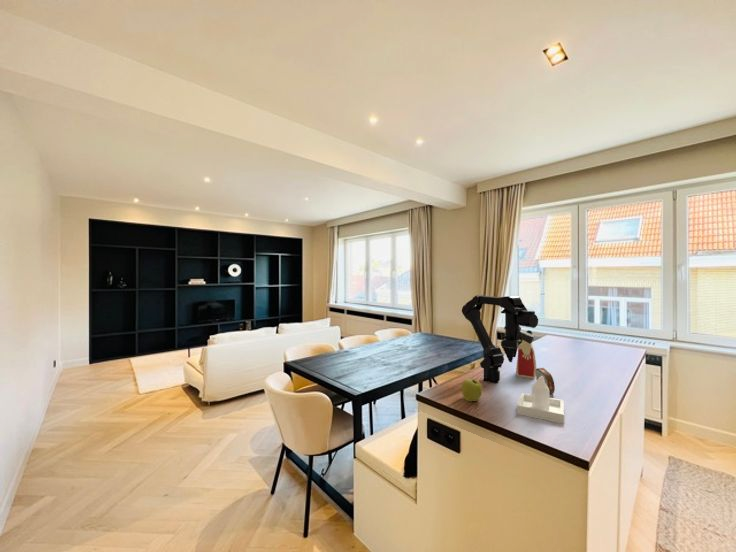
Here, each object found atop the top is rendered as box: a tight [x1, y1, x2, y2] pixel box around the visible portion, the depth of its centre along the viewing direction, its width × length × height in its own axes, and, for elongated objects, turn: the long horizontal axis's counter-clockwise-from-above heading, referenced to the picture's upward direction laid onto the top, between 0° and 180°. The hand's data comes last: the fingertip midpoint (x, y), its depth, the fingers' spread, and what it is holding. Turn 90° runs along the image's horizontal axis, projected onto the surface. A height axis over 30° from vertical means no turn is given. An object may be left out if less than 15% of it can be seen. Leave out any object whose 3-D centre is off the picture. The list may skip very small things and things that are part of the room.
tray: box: [516, 392, 565, 424], centre depth 110 cm, size 14×14×3 cm
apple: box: [461, 378, 483, 402], centre depth 121 cm, size 8×8×10 cm
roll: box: [531, 376, 550, 410], centre depth 111 cm, size 6×12×6 cm
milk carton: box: [515, 340, 537, 380], centre depth 152 cm, size 9×9×20 cm
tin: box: [535, 367, 556, 394], centre depth 131 cm, size 15×3×8 cm, turn 168°
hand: (512, 359), depth 133 cm, fingers open, 9 cm apart
